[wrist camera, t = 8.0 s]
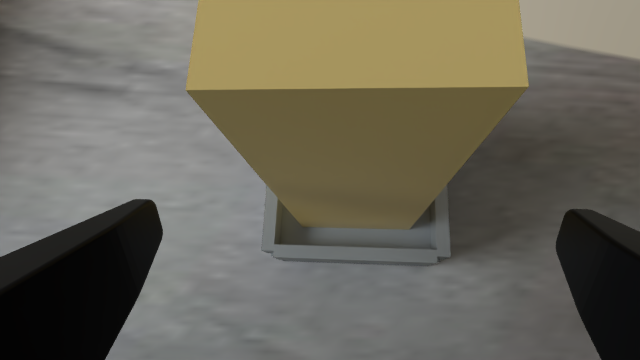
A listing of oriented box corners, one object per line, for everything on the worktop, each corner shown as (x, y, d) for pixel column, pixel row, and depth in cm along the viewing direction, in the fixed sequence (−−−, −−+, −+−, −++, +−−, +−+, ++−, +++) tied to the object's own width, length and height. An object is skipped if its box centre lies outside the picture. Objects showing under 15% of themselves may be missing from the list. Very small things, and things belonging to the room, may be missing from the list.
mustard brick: (409, 229, 16) (528, 86, 5) (302, 227, 17) (185, 89, 5) (407, 129, 18) (499, -172, 6) (307, 129, 18) (220, -152, 7)
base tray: (431, 269, 19) (450, 263, 15) (280, 263, 20) (260, 256, 16) (426, 127, 21) (442, 88, 17) (289, 127, 22) (274, 89, 17)
